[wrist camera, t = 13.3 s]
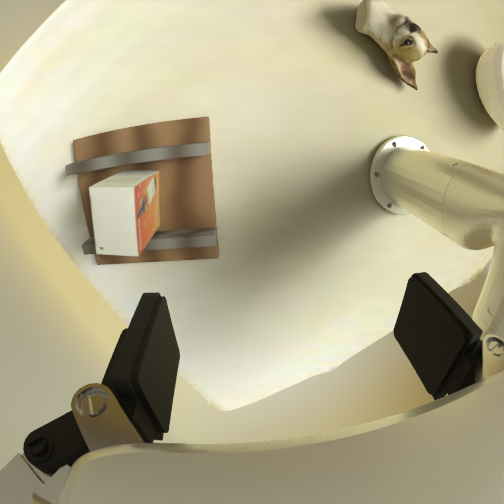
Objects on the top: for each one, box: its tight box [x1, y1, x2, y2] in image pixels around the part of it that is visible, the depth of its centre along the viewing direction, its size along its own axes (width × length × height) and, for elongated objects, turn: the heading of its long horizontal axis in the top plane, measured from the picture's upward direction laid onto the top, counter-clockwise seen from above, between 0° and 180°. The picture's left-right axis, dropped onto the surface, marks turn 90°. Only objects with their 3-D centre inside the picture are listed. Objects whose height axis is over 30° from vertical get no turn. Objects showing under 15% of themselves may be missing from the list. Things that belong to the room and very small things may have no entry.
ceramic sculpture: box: [355, 0, 438, 90], centre depth 25 cm, size 11×9×15 cm
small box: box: [89, 170, 160, 256], centre depth 32 cm, size 8×6×10 cm
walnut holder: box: [66, 117, 219, 265], centre depth 36 cm, size 20×20×4 cm
